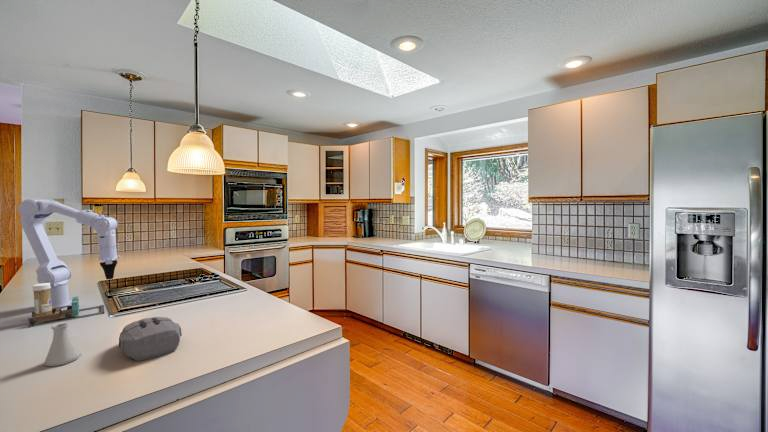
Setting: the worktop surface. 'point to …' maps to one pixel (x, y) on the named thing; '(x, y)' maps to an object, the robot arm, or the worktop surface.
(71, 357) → the flask
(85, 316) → the dark grey flat frame
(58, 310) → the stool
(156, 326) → the grey rounded bag
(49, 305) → the sprinkles bottle
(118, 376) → the worktop surface
